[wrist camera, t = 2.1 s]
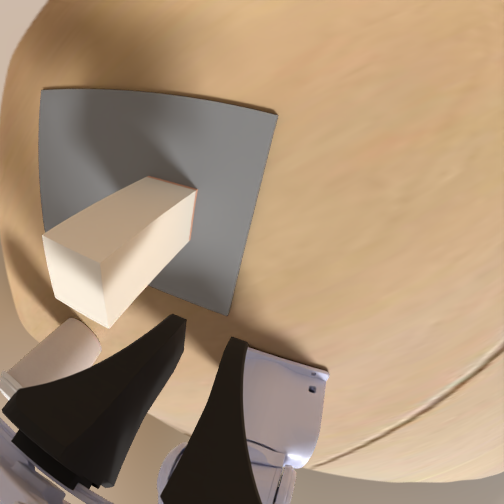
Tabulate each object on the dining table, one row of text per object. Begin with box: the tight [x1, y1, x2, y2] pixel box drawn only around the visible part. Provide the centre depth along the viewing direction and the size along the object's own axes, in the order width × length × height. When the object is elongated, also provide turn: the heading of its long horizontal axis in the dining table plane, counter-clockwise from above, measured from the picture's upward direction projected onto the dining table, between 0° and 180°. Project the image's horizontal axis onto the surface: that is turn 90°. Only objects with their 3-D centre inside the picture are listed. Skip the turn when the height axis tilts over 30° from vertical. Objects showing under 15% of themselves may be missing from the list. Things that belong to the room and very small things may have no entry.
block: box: [42, 176, 198, 329], centre depth 16 cm, size 4×4×10 cm
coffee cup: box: [0, 318, 101, 400], centre depth 27 cm, size 10×10×15 cm
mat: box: [39, 89, 278, 316], centre depth 21 cm, size 22×16×1 cm
